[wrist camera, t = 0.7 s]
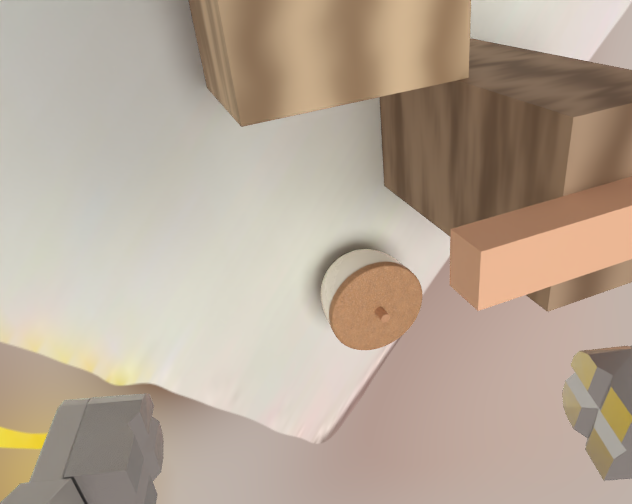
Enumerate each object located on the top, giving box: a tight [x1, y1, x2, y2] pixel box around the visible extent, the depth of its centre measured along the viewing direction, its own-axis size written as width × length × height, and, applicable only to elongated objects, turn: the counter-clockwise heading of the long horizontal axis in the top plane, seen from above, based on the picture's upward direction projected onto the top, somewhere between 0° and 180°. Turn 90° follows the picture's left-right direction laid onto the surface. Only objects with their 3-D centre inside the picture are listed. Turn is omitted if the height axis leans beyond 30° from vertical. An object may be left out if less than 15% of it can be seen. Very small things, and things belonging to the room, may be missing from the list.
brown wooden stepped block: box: [188, 0, 632, 311], centre depth 40 cm, size 27×28×26 cm
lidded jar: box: [321, 249, 422, 350], centre depth 59 cm, size 11×11×9 cm
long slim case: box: [450, 176, 632, 311], centre depth 33 cm, size 20×4×3 cm, turn 97°
